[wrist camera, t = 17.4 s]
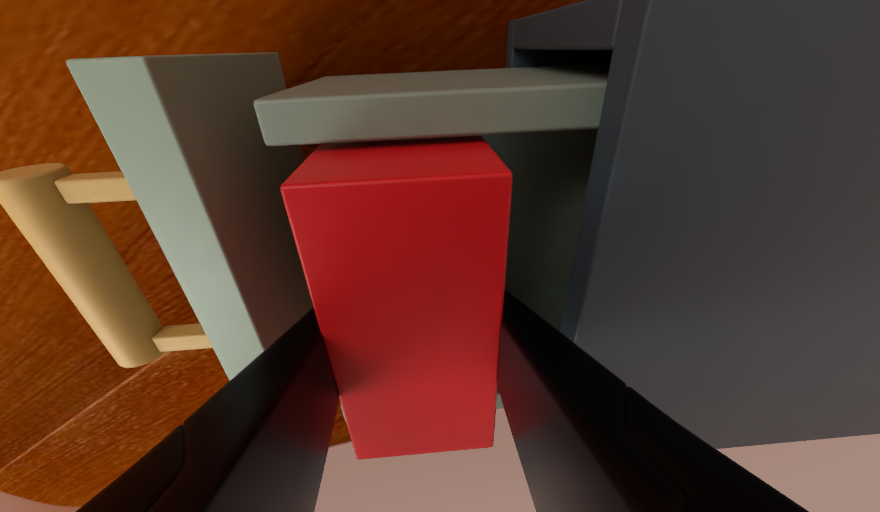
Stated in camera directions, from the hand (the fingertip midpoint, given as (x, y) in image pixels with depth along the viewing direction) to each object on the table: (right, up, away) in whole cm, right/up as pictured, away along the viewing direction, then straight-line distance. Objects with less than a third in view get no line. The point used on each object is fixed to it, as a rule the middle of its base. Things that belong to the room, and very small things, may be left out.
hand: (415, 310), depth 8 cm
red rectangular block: (0, +1, +1) cm, 1 cm away
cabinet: (+10, +4, +7) cm, 13 cm away
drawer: (-2, +3, +6) cm, 7 cm away
